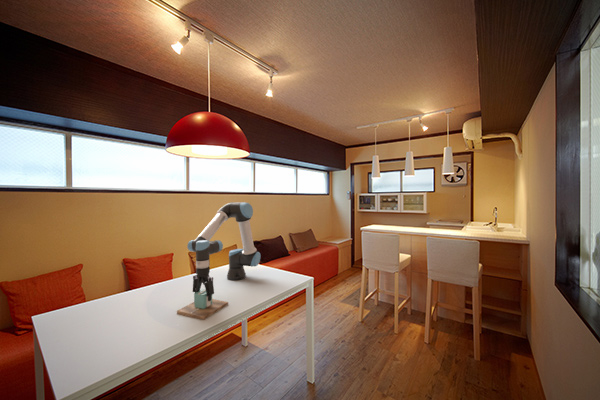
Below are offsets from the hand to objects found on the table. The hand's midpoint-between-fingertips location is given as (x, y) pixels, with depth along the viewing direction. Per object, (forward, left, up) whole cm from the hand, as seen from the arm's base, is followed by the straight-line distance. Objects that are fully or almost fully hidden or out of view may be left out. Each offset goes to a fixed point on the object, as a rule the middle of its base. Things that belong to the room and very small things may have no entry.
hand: (203, 304), depth 142 cm
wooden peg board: (0, 0, -2) cm, 2 cm away
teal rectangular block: (0, 0, 0) cm, 0 cm away
